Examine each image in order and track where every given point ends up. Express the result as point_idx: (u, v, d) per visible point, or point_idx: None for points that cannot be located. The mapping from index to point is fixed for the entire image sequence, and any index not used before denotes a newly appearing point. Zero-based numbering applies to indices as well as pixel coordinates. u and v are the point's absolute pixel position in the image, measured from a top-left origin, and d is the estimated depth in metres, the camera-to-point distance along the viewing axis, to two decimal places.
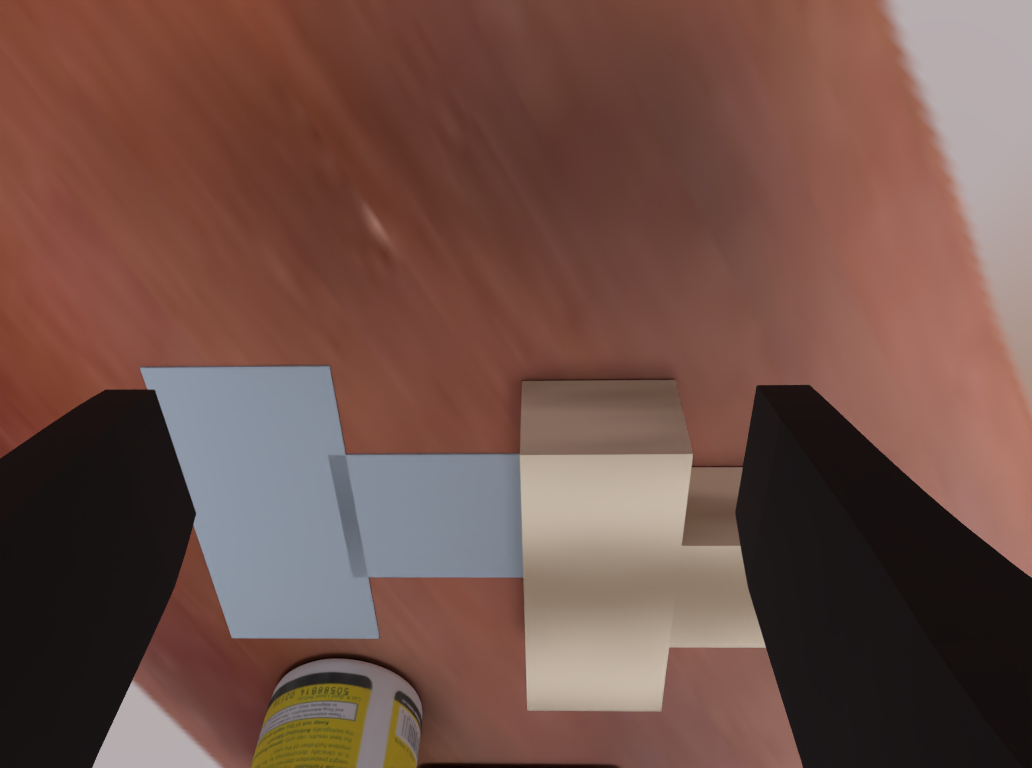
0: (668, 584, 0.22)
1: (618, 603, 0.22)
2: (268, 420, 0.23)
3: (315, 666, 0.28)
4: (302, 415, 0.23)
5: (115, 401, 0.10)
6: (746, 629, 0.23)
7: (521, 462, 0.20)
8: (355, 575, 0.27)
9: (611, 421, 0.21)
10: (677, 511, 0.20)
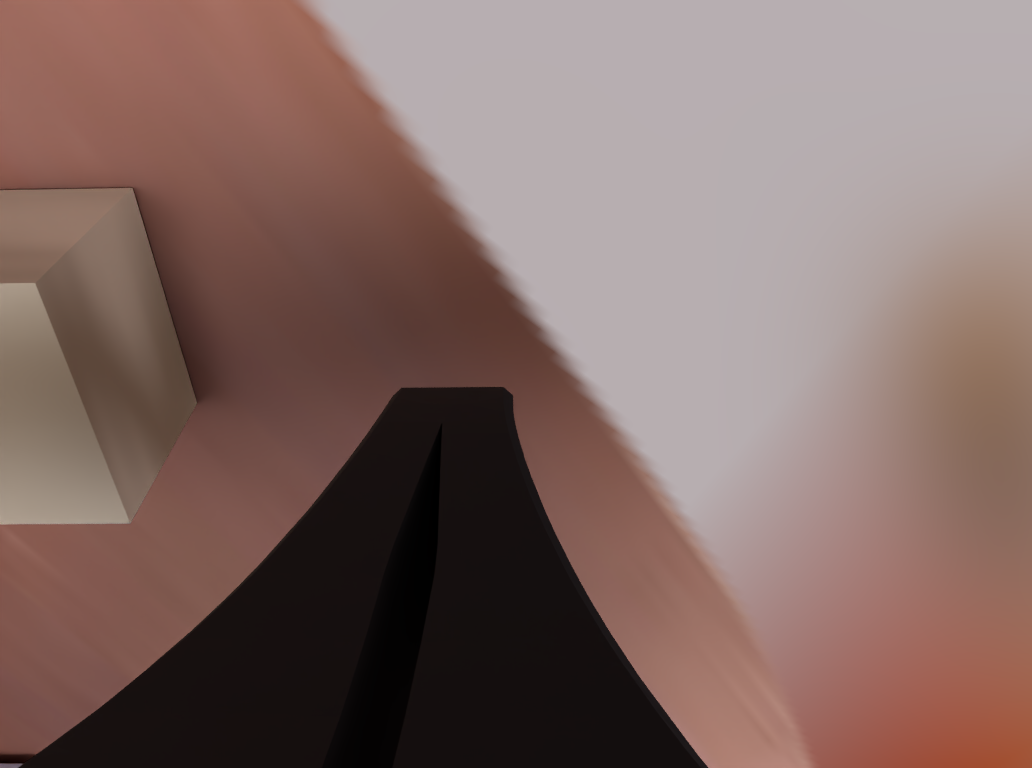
0: None
1: None
2: None
3: None
4: None
5: (422, 399, 0.09)
6: None
7: None
8: None
9: None
10: None
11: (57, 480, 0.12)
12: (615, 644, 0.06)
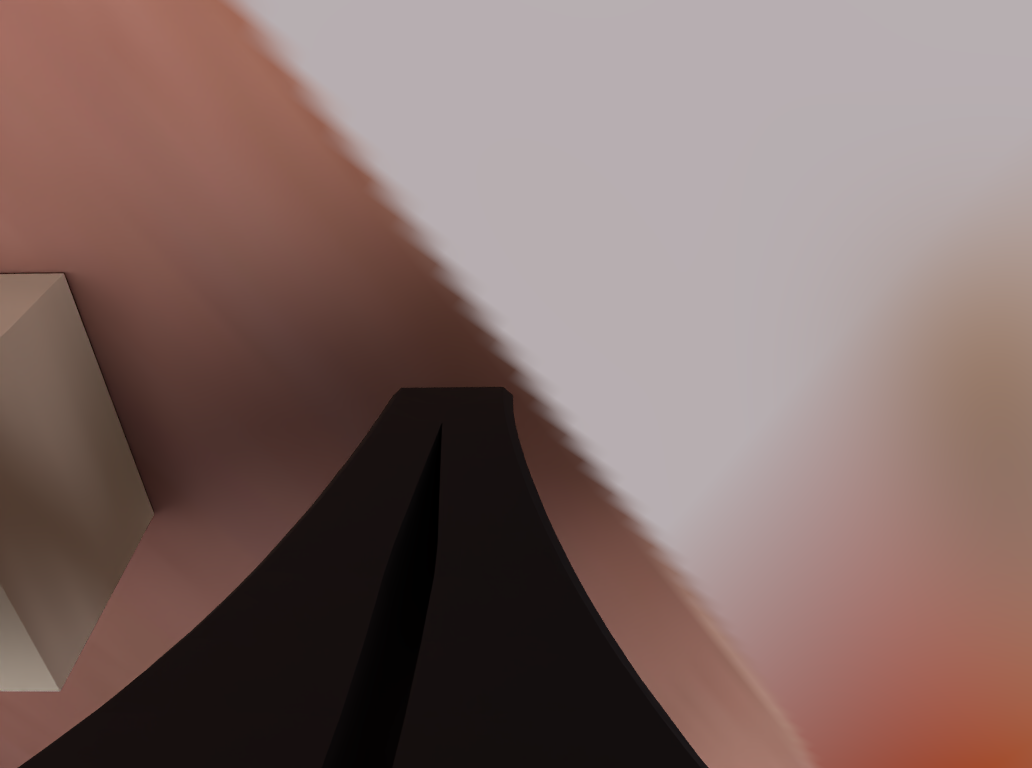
0: None
1: None
2: None
3: None
4: None
5: (423, 399, 0.09)
6: None
7: None
8: None
9: None
10: None
11: None
12: (615, 644, 0.06)
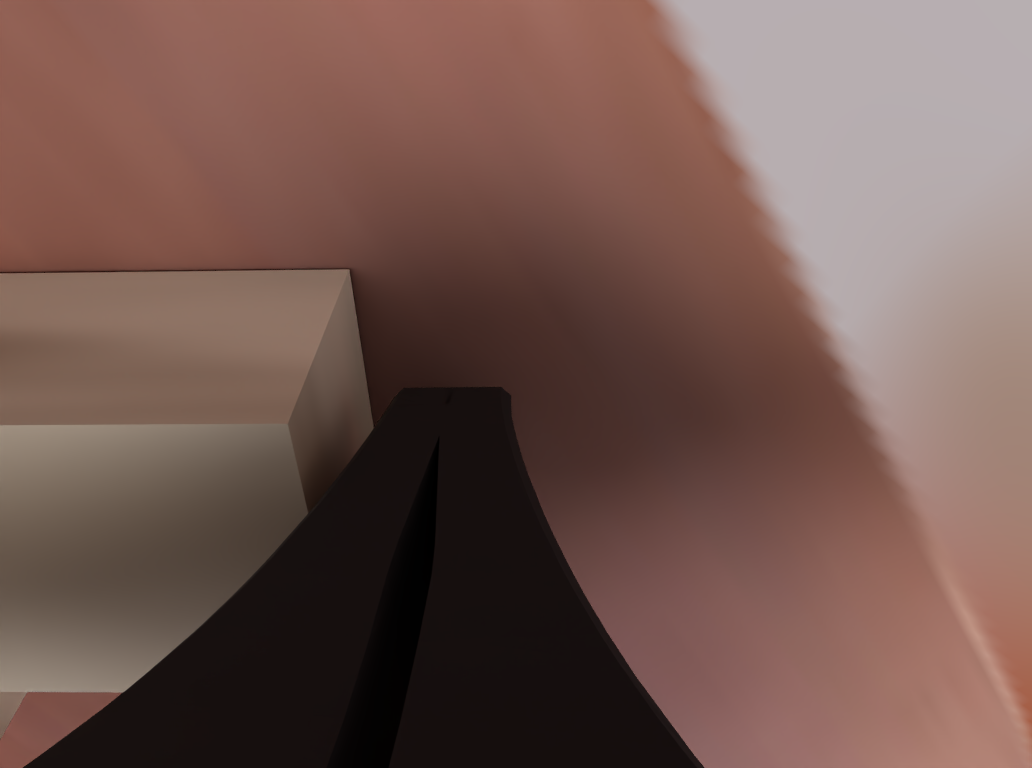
0: None
1: None
2: None
3: None
4: None
5: (426, 399, 0.09)
6: None
7: None
8: None
9: None
10: None
11: None
12: (612, 644, 0.06)
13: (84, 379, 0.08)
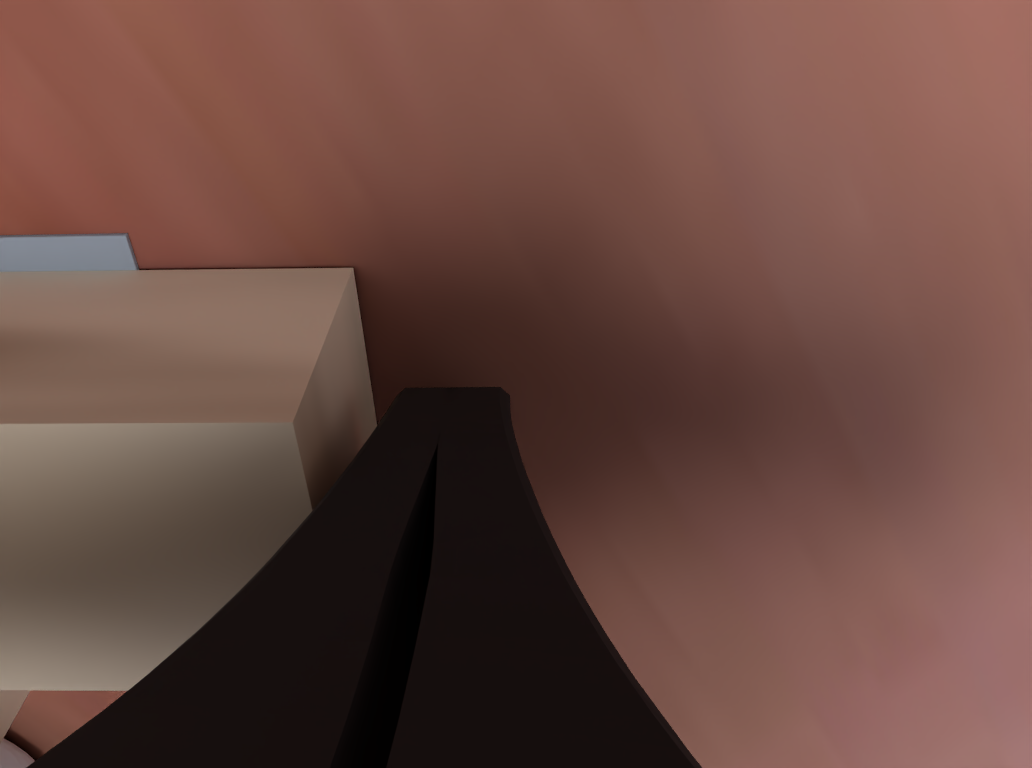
0: None
1: None
2: None
3: None
4: None
5: (427, 398, 0.09)
6: None
7: None
8: None
9: None
10: None
11: None
12: (611, 644, 0.06)
13: (90, 377, 0.08)
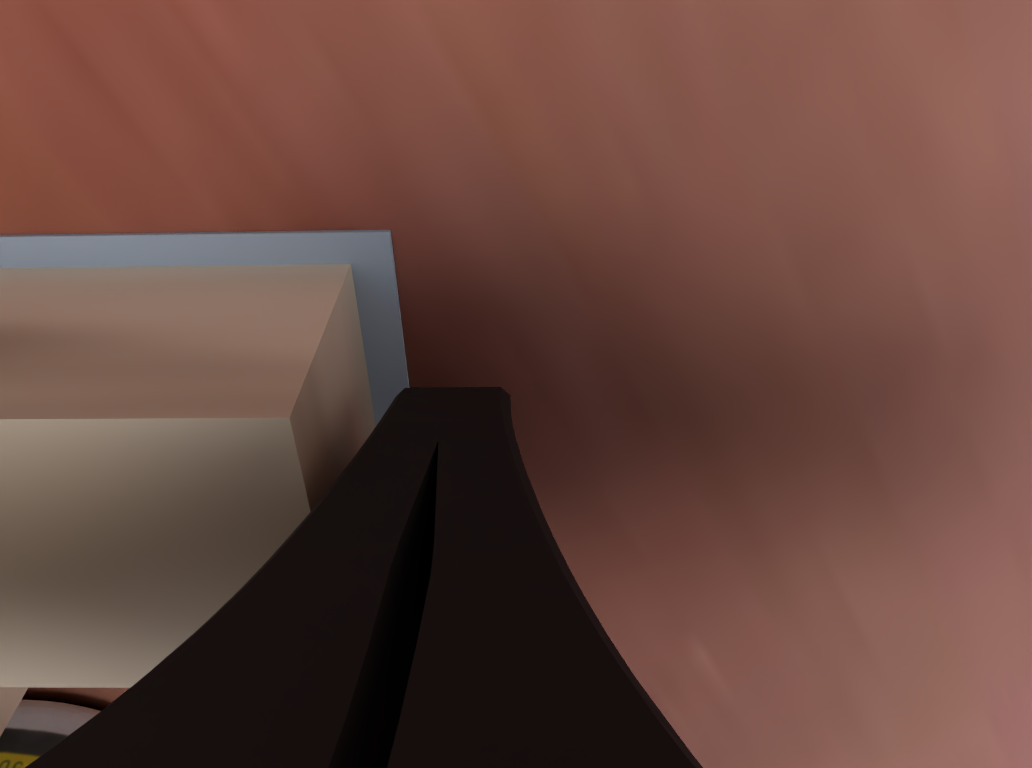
0: None
1: None
2: None
3: None
4: None
5: (426, 399, 0.09)
6: None
7: None
8: None
9: None
10: None
11: None
12: (611, 644, 0.06)
13: (85, 374, 0.08)
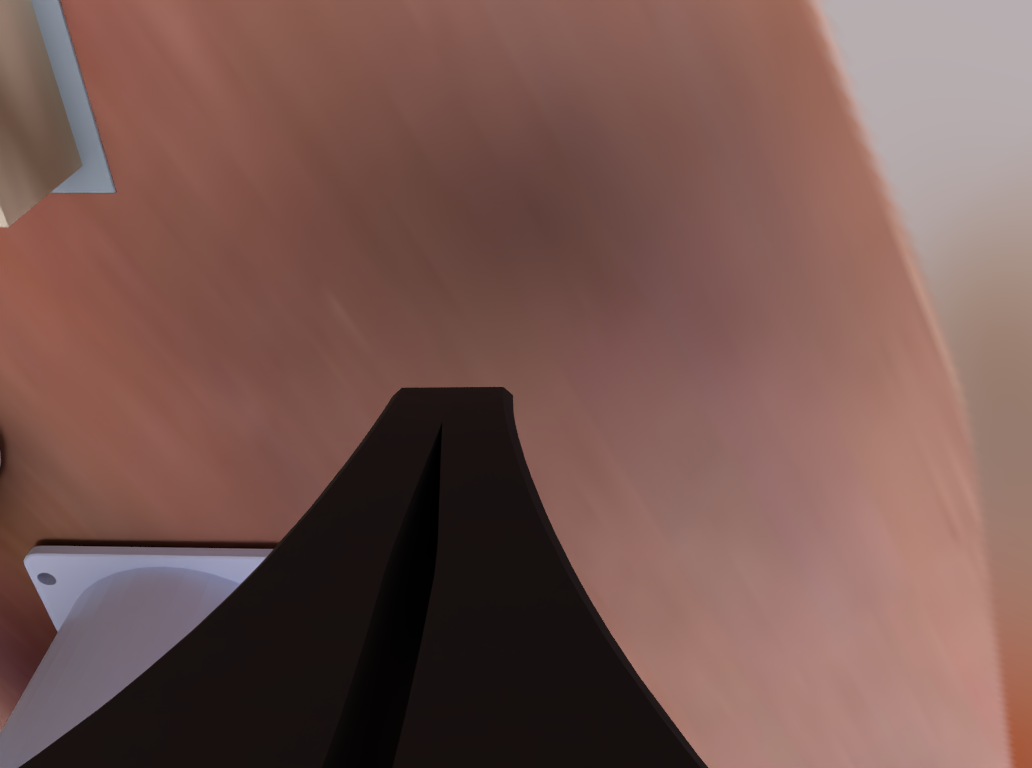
0: None
1: None
2: None
3: None
4: None
5: (423, 399, 0.09)
6: None
7: None
8: None
9: None
10: None
11: None
12: (615, 644, 0.06)
13: None
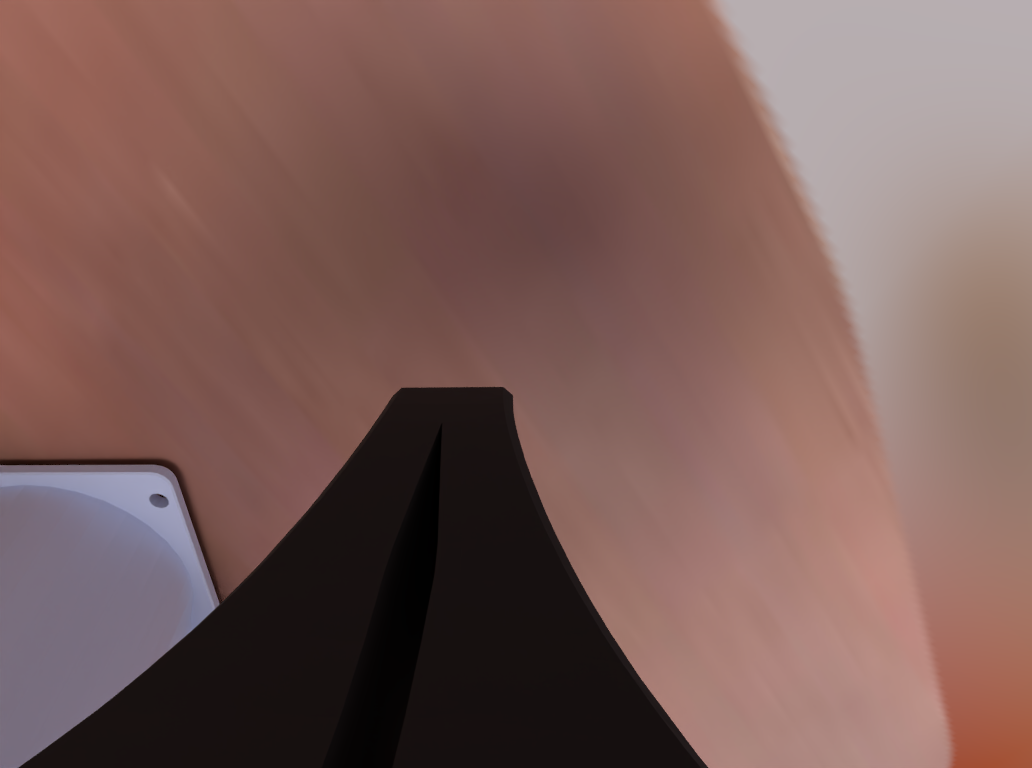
0: None
1: None
2: None
3: None
4: None
5: (423, 398, 0.09)
6: None
7: None
8: None
9: None
10: None
11: None
12: (615, 644, 0.06)
13: None
